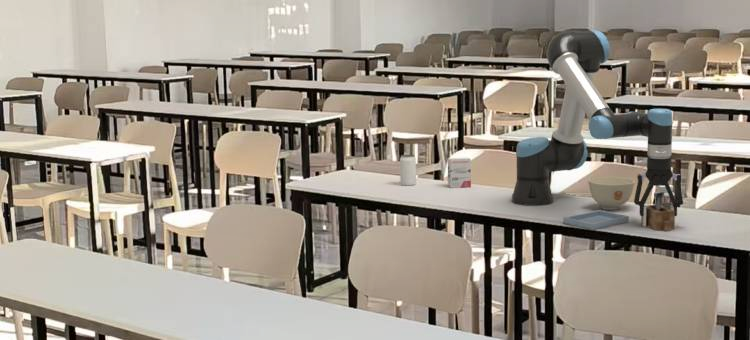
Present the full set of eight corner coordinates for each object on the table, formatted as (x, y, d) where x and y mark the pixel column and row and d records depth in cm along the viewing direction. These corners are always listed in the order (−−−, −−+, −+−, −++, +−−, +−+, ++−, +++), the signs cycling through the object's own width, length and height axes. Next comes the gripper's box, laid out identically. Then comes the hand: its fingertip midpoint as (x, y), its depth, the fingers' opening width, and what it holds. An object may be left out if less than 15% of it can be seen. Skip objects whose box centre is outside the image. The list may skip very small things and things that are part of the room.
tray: (563, 223, 339) (563, 217, 338) (599, 215, 349) (599, 210, 349) (592, 230, 328) (592, 224, 328) (628, 221, 339) (628, 216, 338)
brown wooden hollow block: (641, 223, 336) (641, 205, 335) (659, 222, 337) (659, 204, 336) (658, 231, 324) (659, 213, 323) (677, 230, 325) (677, 212, 324)
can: (416, 185, 412) (415, 156, 410) (400, 186, 412) (399, 157, 410) (415, 182, 418) (415, 154, 416) (400, 183, 418) (399, 154, 416)
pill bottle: (674, 216, 346) (675, 187, 344) (657, 215, 347) (658, 187, 345) (673, 212, 351) (674, 184, 350) (656, 212, 352) (657, 184, 351)
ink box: (468, 185, 411) (467, 156, 409) (471, 187, 406) (470, 158, 404) (447, 186, 410) (447, 157, 408) (450, 188, 405) (450, 159, 403)
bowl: (634, 204, 366) (634, 177, 365) (634, 213, 351) (634, 185, 349) (589, 203, 370) (589, 176, 369) (587, 212, 355) (587, 184, 353)
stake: (652, 226, 331) (653, 193, 329) (660, 224, 333) (660, 191, 332) (656, 227, 330) (657, 193, 328) (664, 225, 332) (665, 192, 330)
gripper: (627, 158, 325) (626, 228, 329) (694, 158, 322) (692, 228, 326) (625, 155, 333) (624, 222, 336) (690, 155, 329) (689, 223, 333)
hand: (657, 225), depth 331 cm, fingers closed on brown wooden hollow block, 8 cm apart
